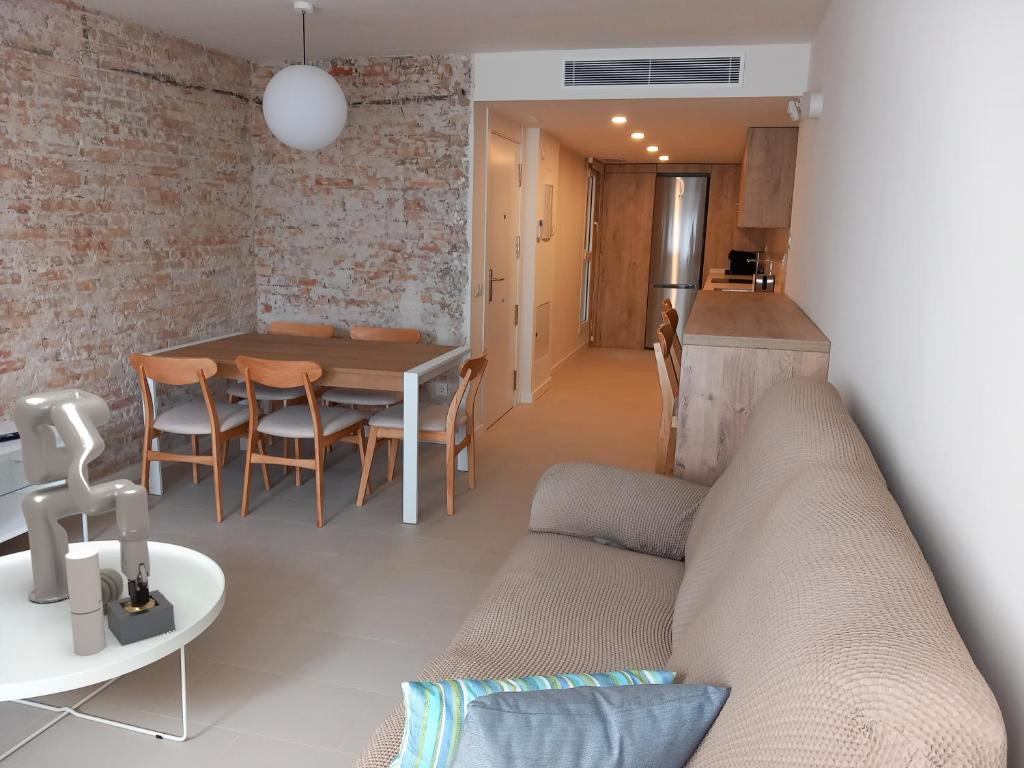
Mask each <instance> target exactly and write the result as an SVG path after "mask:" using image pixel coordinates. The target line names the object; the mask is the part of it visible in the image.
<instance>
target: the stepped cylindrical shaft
mask: <svg viewBox="0 0 1024 768" xmlns="http://www.w3.org/2000/svg"><path fill="white" fill-rule="evenodd" d="M129 582H130V581H129ZM140 582H141V580H138V583H140ZM129 585H130V596H129V597H130V598H131V601H130V602H128V603H126V604H125V605H124V610H125V611H126V612H127V614H128V613H132V612H136V611H140V610H143V609H147V608H151V607H155V601H154V600H153V599H150V598H149V599H150V601H149V602H148V603H144V604H140V605H137V604H136V597H135V590H136V585H135V580H134V581H132V582H130V583H129Z"/></svg>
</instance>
